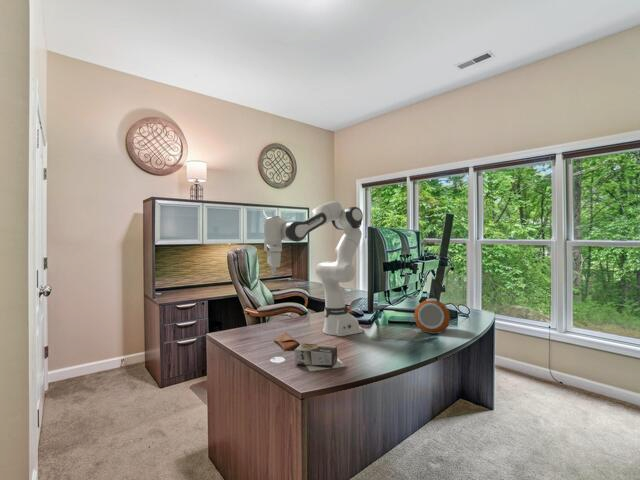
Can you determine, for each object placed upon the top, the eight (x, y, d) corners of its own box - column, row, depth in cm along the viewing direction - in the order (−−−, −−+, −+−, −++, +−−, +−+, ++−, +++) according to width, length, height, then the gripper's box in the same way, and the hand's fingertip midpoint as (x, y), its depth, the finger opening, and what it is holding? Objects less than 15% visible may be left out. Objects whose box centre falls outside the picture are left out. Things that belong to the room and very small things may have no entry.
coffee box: (294, 364, 136) (332, 368, 132) (294, 349, 136) (331, 352, 132) (302, 357, 145) (337, 360, 140) (302, 342, 145) (337, 345, 140)
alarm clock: (412, 332, 179) (412, 301, 179) (415, 324, 196) (415, 295, 195) (450, 336, 172) (449, 303, 172) (450, 327, 188) (450, 297, 188)
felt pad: (332, 353, 150) (332, 352, 150) (345, 366, 135) (345, 365, 135) (300, 357, 146) (300, 356, 146) (309, 371, 130) (309, 370, 130)
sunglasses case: (271, 340, 169) (277, 328, 170) (283, 345, 171) (289, 333, 173) (284, 351, 153) (290, 338, 154) (296, 357, 155) (302, 343, 157)
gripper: (264, 247, 177) (264, 272, 177) (269, 248, 157) (270, 277, 157) (275, 246, 178) (276, 272, 179) (282, 248, 159) (283, 276, 159)
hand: (273, 274), depth 168 cm, fingers closed
